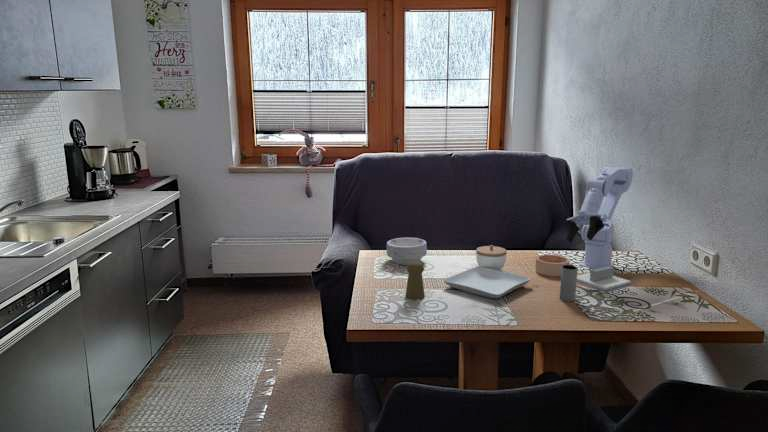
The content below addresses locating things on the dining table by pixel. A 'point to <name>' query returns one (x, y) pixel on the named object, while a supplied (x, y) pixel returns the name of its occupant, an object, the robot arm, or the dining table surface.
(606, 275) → the cover
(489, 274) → the salad plate
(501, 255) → the lidded jar
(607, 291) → the mat
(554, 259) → the bowl
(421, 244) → the grey round bowl
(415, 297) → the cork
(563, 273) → the planter
